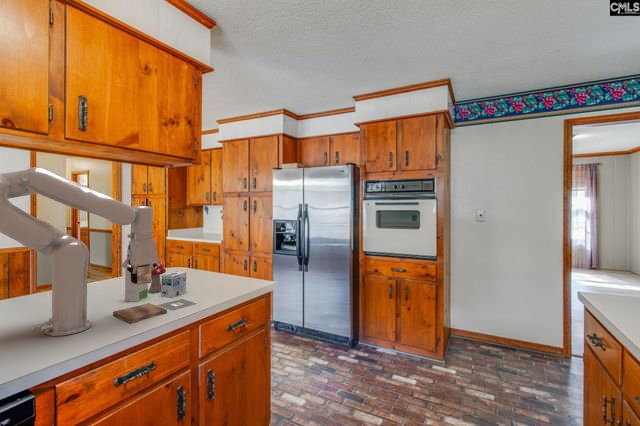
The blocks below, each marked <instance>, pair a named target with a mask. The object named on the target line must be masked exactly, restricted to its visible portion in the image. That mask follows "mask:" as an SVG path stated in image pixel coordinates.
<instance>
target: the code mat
mask: <svg viewBox="0 0 640 426" xmlns="http://www.w3.org/2000/svg"><path fill="white" fill-rule="evenodd" d="M194 305H198V303H196V302H194V301H190V300H186V299H184V298H180V299H176V300H172V301H168V302H165V303H160V304H157V306H158V307H161V308H164V309H167V310H169V311H173V312H174V311H176V310H181V309H183V308H184V309H185V308H188V307H191V306H194Z"/></svg>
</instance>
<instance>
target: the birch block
mask: <svg viewBox="0 0 640 426" xmlns="http://www.w3.org/2000/svg"><path fill="white" fill-rule="evenodd" d="M136 273H137V283H136V285H142V284H147V283H148V284H151V282H152V280H151V265H142V266H138V267H137V270H136ZM133 284H135V283H133Z"/></svg>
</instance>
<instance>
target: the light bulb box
mask: <svg viewBox="0 0 640 426" xmlns="http://www.w3.org/2000/svg"><path fill="white" fill-rule="evenodd" d="M160 282H161V291H160V293H161V295H160V296H161V297H162V298H171V299H172V298H173V299H174V298H176V297H178V296H181V295H183V294H185V293H187V271H178V270H174V271H171V272H166V273H163V274H161V279H160Z"/></svg>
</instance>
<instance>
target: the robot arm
mask: <svg viewBox="0 0 640 426" xmlns="http://www.w3.org/2000/svg"><path fill="white" fill-rule="evenodd" d="M36 194H37V195H40V196H42V197H44V198H47V199H49V200H53V201H54V202H56V203H57V202H58V203H59V204H62V205H65V206H67V207H70V208H72V209H75V210H79V211H82V212H86V213H90V214H92V215H95V216H98V217H101V218H103V219H106V220H108V221H109V222H110V223H112V224H114V225H119V226H128V225H131V229H130V231H131V232H130V233H129V234H127V238H128V239H130V240H129V241H128V246H127V250H126V259H125V261H123V263H122V264H121V268H123V269H124V270H125V269H126V270H128V271H129V272H130V273H131V281H132V283H135V284H136V283H137V273H136V270H137V267H138V266H142V265H151V281H152V271H153V270H154V268H155V267H156V266H157V264H158V263H161V259H160V258H159V257H158V249H157V242H156V240H155V238H154V237H153V236H154V235H153V231H154V229H153V228H154V227H153V225H154V209H153V207H152V206H147V205H134V206H131V205H128V204H126V203H124V202H122V201H120V200H117V199H115V198H113V197H110V196H108V195H105V194H103V193H101V192H99V191H97V190H95V189H92V188H89V186H88V187H87V186H85V185H83V184H81V183H79V182H78V181H77V182H76V181H74V180H73V179H69V178H68V177H65V176H63V175H61V174H59V173H57V172H55V171H53V170H50V169H48V168H45V167H41V166H33V167H29V168H27V169H23V170H17V171H12V172H11V171H9V172H4V173H3V172H1V173H0V233H1V234H2V235H4V236H6V237H8V238H10V239H12V240H14V241H16V242H18V243H19V244H21V245H22V246H24V247H25V248H27V249H32V250H34V251H36V252H38V253H39V254H42V255H44V256H46V257H48V258H50V259H52V274H51V275H52V277H51V278H52V279H51V287H52V290H51V292H52V293H51V317H49V318H48V320H47V321H45V322H43V323H38V324H34V325H32V331H33V332H36V331H39V330H40V332H43V331H44V333H45V334H46V335H47V336H51V337H60V336H69V335H73V334H79V333H81V332H84V331H86V330H88V329H89V328H91V327H92V325H93V323H92V320H90V319H87V313H88V312H87V311H88V309H87V308H88V271H89V268H88V267H89V261H90V252H89V248H88V246H87V245H86V244H85V243H84V242H83V241H82V240H80V239H78V238H75V237H73V236H72V235H70V234H68V233H66V232H64V231H63V230H60V229H59V228H57V227H55V226H53V225H52V224H51V223H49V222H46V221H44V220H41V219H39V218H37V217H35V216H33V215H32V214H29V213H28V212H26V211H25V210H23V209H21V208H20V207H18V206H16V205H14V204H13V203H12V202H11V201H10V200H9V199H15V198H21V197H25V196H31V195H36ZM130 266H131V267H130Z"/></svg>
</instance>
